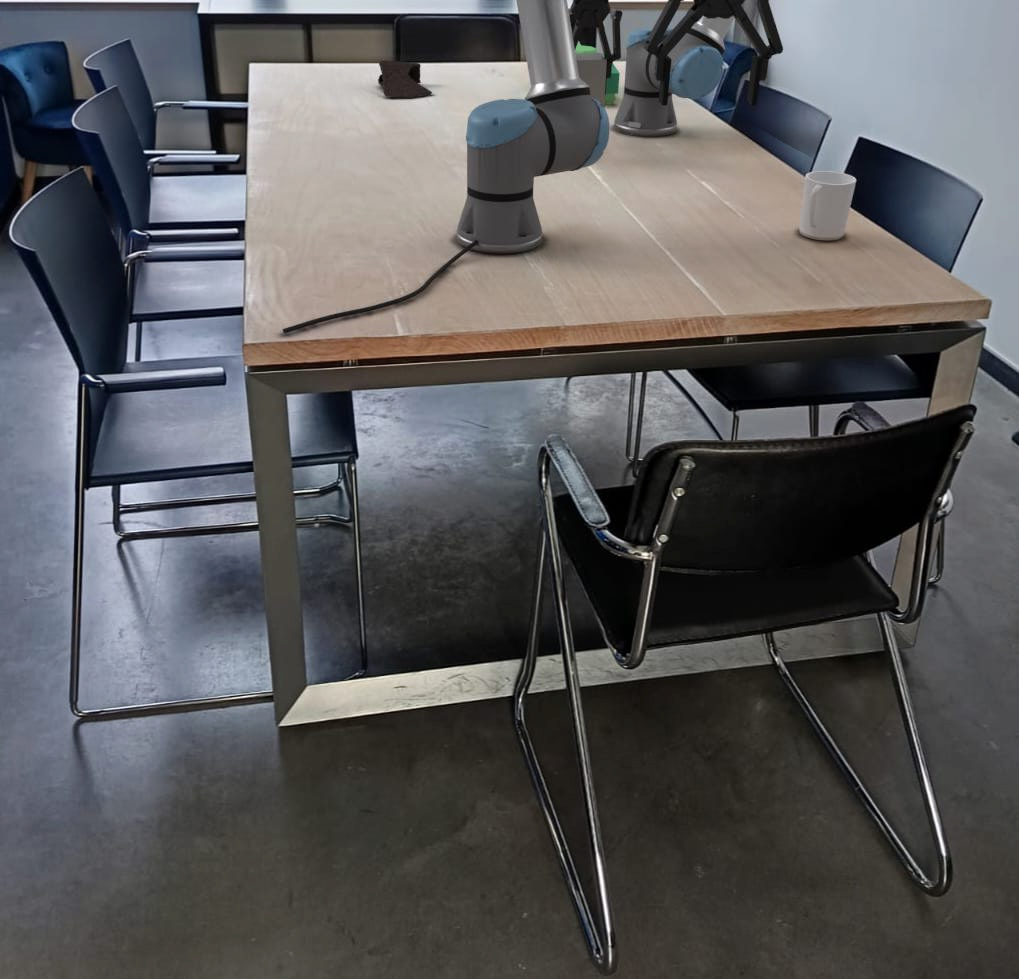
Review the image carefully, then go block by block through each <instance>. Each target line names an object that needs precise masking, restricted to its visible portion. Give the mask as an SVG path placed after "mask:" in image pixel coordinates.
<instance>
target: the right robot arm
mask: <svg viewBox="0 0 1019 979" xmlns="http://www.w3.org/2000/svg"><path fill="white" fill-rule="evenodd" d="M568 10H569V17H570V18H571V15H572V16H573V18H574V19H575V21H576V22H575V24H574V27H573V30H572V36H573V42H574V48H575V49H576V46H577V43H578V41H579V40H580V37H581V35H582V33H583V32H584V29H586V28H590V27H591V28H596V31H597V35H598V38H599V43H600V45H601V49H602V52H603V53H602V54H604V57H605V59H606V60H607V63H606V81H607V78H611V73H612V63H613V64H614V62H615V61H618V60H620V59H622V43H621V41H622V40H621V21H622V17H623V13H624V12H623V10H621V9H619V8H613V7H611V5H610V1H609V0H572V4H571V5H570V8H569V7H568ZM609 14H610V16H609ZM608 16H609V18H610V19H611V21H612V22H611V29H612V31H611V32H612V51H611V47H610V44H609V40H608V37H607V33H606V27H605V25H604V21H605V20H606V19H607V17H608ZM735 20H736V19H735V18H734V16H732V17H730V18H729V19H723V18H720V17H717V18H714V19H708V18H706V17H704V16H702V18H701V19H700V20H699V21H698V22H696V23H695V24H694V25H693V26H692V28H691V29H690V30H689V31H688V32H687V33H686V34H685V35H684V37H683V38H682V39H681V40H680V41H679V42H678V43H677V45H676V46H675V47H674V48H673V49H672V50H671V51H670V53H669V54H668V55H667V56H668V57H670V58H671V70H670V81H669V92H668V103H667V105H661V103H660V102H659V90H660V81H657V80H656V79H655V76H654V71H655V59H656V57H655V55H653V54H650V53H648V52H647V51H646V50H645V49H644V44H645V42H646V40H647V39H648V37H649V35H650V33H651V31H652V29H653V28H648V29H647V28H644V29H635V30H632V31H631V32H629V34H628V36H627V37H628V38H627V44H626V47H625V50H626V55H625V56H626V57H625V58H626V59H625V73H624V87H623V97H622V99H621V102H620V104H619V107H618V110H617V113H616V115H615V118H614V122H613V128H614V130H615V131H617V132H619V133H620V134H625V135H629V136H636V137H664V136H669V135H672V134H675V133H676V132H677V129H678V128H677V127H678V121H677V116H676V111H675V107H674V101H673V95H675V96H676V97H678V98H681V99H687V100H688V99H689V100H698V99H702V98H704V97H707V96H708V95H710V94H711V93H712V92H713V91H714V90H716V88H717V86H718V85H719V83H720V82H721V80H722V77H723V74H724V70H725V69H724V67H723V66H724V64H725V63H724V58H723V55H724V54H725V51H726V47H725V42H724V39H725V37H726V35H727V33H728V32H729V30H730V28H731V26H732V24H733V22H734V21H735ZM673 29H674V28H667V30H666V31H665V33H664V35H663V37H662V39H661V41H660V42H659V44H658V46H659V45H660V44H661V43H662V41H663V40H664V39H665V38H666V37H667V36H668V35H669V33H670V32H671V31H672V30H673ZM579 42H580V41H579ZM605 95H606V82H605Z"/></svg>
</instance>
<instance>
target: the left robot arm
mask: <svg viewBox="0 0 1019 979" xmlns="http://www.w3.org/2000/svg"><path fill="white" fill-rule="evenodd" d="M684 1H685V0H667V1H666V3H665V6H664V7H663V9H662V11H661V12H660V14H659V16H658V18H657V20H656V22H655V24H654V25H653V28H651V29H652V31H651V33H650V35H649V37H648V39H647V40H646V42H645V44H644V49H645V50H646V51H647V52H648V53H650V54H653V55H655V57H656V59H655V71H654V76H655V79H656V80H657V81H660V90H659V102H660V103H661V105H667V103H668V92H669V81H670V70H671V58H670V57H668V56H667V55H668V54H669V53H670V51H671V50H672V49H673V48H674V47H675V46H676V45H677V43H678V42H679V41H680V40H681V39H682V38H683V37H684V35H685V34H686V33H687V32H688V31H689V30H690V29H691V28H692V26H693V25H694V24H695V23H696V22H698V21H699V20H700V19H701V18H702V16H704V17H706V18H708V19H714V18H717V17H720V18H723V19H729V18H730V17H732V16H734V18H735V19H734V20H736V21H737V23H738V25H739V26H740V28H741V29H742V31H743V32H744V34H745V36H746V37H747V39H748V40H749V42H750V43H751V45H752V46H753V48H754V49H755V51H756V53H757V54H758V55H752V57H751V65H750V70H749V71H750V72H749V79H748V80H749V81H748V88H747V96H746V102H747V103H748V104H749V105H751V106H757V105H758V98H759V90H760V82H764V81H766V79H767V77H768V76H767V75H768V68H769V62H770V59H771V58H773V56H775V55H780V54H782V53H783V51H784V47H783V43H782V40H781V37H780V33H779V30H778V28H777V24H776V21H775V17H774V14H773V11H772V8H771V5H770V0H753V2H755V4H756V8H757V10H758V14H759V17H760V20H761V23H762V27H763V30H764V33H765V36H766V39H767V42H768V45H766V43H765V41H764V39H763V38H762V36H761V35H760V34H759V32H758V29H756V27H755V25H754V24H753V23H752V21H751V19H750V18H749V16H748V13H747V12H746V10H745V9H744V7H743V6H742V5H743V4H744V3H745V1H746V0H692V1H693V4H692V5H691V7H690V8H688V10H687V12H686V14H685V15H684V16H683V17H682V18H681V19H680V21H679V22H678V23H677V24H676V25H675V26H674V27H673V28H672V29H673V30H672V31H671V32H670V33H669V35H668V36H667V37H666V38H665V39H664V40H663V41H662V43H661V44H660V45H659V46H658V44H659V42H660V41H661V39H662V37H663V35H664V33H665V31H666V30H667V29H669V26H670V24H671V22H672V21H673V19H674V17H675V15H676V13H677V12H678V9H679V7H680V5H681V3H682V2H684ZM516 6H517V7H516V8H517V13H518V18H519V22H520V23H519V24H520V30H521V36H522V41H523V48H524V53H525V59H526V65H527V70H528V78H529V82H530V83H529V84H530V88H529V90H528V92H527V94H526V95H525V97H524V99H522V98H508V99H504V98H503V99H495V100H491V101H488V102H484V103H482V104H480V105H478V106H476V107H475V108H474V109H472V110H471V112H470V113H469V115H468V117H467V123H466V124H467V126H466V135H465V141H466V192H467V193H466V198H465V202H464V205H463V209H462V211H461V214H460V218H459V220H458V224H457V228H456V241H457V243H458V244H459V245H461V246H462V247H464V248H463V249H462V250H460V251H459V252H458V253H456V254H455V255H454V256H452V257H451V258H450V259H449V260H448V261H447V262H446V263H444V264H443V265H442V266H441V267H440V268H439V269H438V270H437V271H435V272H434V273H433V274H432V275H431V276H430V277H429V278H428V279H427V280H426V281H425V282H424V283H423V285H421V286H420V287H419V288H418V289H416V290H413V291H412V292H411V293H408V294H406V295H403V296H401V297H398V298H395V299H391V300H388V301H384V302H381V303H378V304H374V305H370V306H366V307H361V308H356V309H349V310H345V311H341V312H336V313H332V314H328V315H324V316H320V317H317V318H314V319H310V320H307V321H304V322H300V323H297V324H294V325H291V326H287V327H285V328H282V333H283V334H288V333H291V332H295V331H299V330H302V329H305V328H307V327H310V326H314V325H317V324H321V323H324V322H328V321H331V320H335V319H339V318H345V317H350V316H356V315H359V314H363V313H369V312H372V311H377V310H379V309H383V308H386V307H390V306H394V305H397V304H400V303H402V302H407V301H408V300H410V299H412V298H414V297H416V296H418V295H419V294H421V293H423V292H424V291H425V290H426V289H427V288H428V287H429V286H431V284H432V282H433V281H435V280H436V279H437V278H438V277H439V276H440V275H441V274H442V273H443V272H444V271H445V270H447V269H448V268H449V267H450V266H451V265H452V264H454V263H455V262H456V261H458V260H459V259H460V258H461V257H462V256H464V255H465V254H467V253H468V252H469V251H475V252H479V253H486V254H497V255H499V254H500V255H506V254H507V255H508V254H517V253H524V252H527V251H530V250H533V249H536V248H538V247H539V246H540V245H541V244H542V243H543V229H542V224H541V221H540V220H541V219H540V218H539V214H538V213H539V212H538V210H537V206H536V204H535V199H534V184H535V181H534V180H535V178H536V177H543V176H548V175H549V176H550V175H554V174H560V173H565V172H575V171H579V170H581V169H583V168H587V167H590V166H593V165H594V164H596V163H597V162H598V161H599V160H600V159H601V158H602V156H603V155H604V152H605V151H606V150H607V147H608V143H609V139H610V118H609V114H608V112H607V109H606V108H605V107H604V108H603V107H602V104H601V103H600V102H599V101H598V100H595V99H593V98H591V94H590V87H589V85H588V84H586V83H585V82H584V81H582V80H581V79H580V77H579V73H578V67H577V61H576V54H575V48H574V42H573V36H572V34H573V30H572V22H571V16H570V17H569V10H568V9H569V4H568V0H516Z"/></svg>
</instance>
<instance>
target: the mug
mask: <svg viewBox="0 0 1019 979" xmlns="http://www.w3.org/2000/svg"><path fill="white" fill-rule="evenodd" d="M856 183H857V178H856V177H855V176H853V175H851V174H848V173H844V172H840V171H832V170H816V171H809V172H807V173H806V174H805V177H804V184H803V194H802V203H801V212H800V219H799V228H798V232H799V234H800V235H802V236H803V237H805V238H809V239H812V240H817V241H836V240H840V239H842V238H843V237H844V236H845V230H846V227H847V221H848V217H849V215H850V214H849V213H850V209H851V205H852V201H853V196H854V193H855V189H856Z"/></svg>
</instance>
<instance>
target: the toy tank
mask: <svg viewBox="0 0 1019 979" xmlns="http://www.w3.org/2000/svg"><path fill="white" fill-rule="evenodd" d="M575 53H599V51H598V49H597V48H596V47H593V46H589V45H582V44H581V42H580V41H578V43H577V46H576V49H575ZM600 54H601V55H602V56H603V57H604V53H600ZM604 58H605V57H604ZM619 88H620V71H619V70H618V68H617V67H616V66H615V64H614V62H613V63H612V73H611V78H607V81H606V95H605V101H604V105H614V104H615V97H616V95H618V94H619Z"/></svg>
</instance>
